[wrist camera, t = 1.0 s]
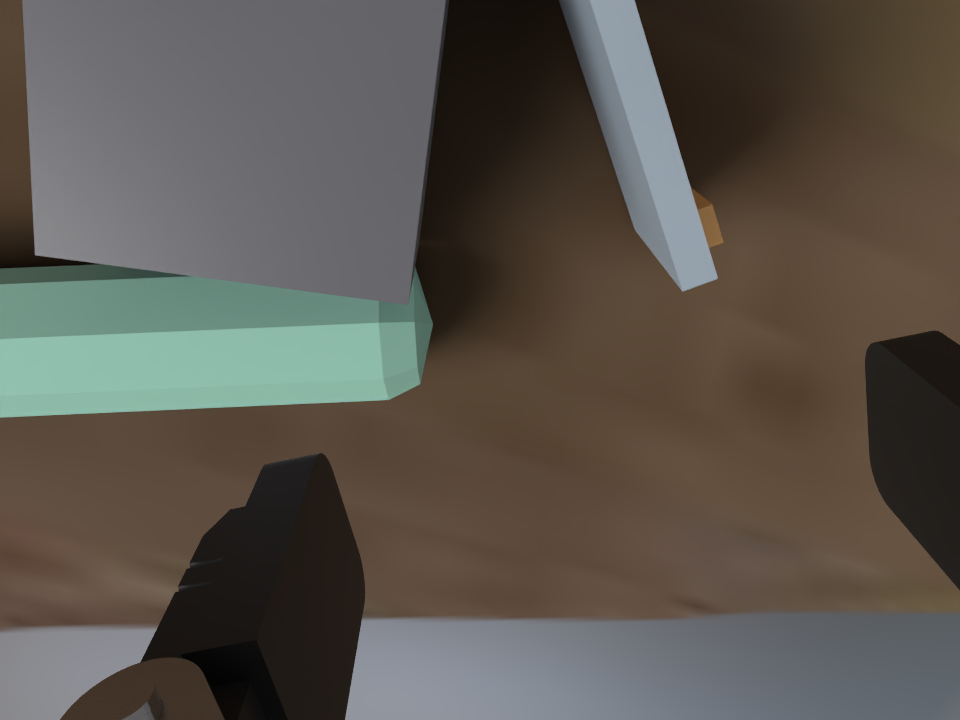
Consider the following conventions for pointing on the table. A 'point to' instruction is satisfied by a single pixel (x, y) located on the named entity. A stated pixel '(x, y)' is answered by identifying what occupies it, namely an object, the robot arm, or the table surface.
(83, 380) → the mint green bar
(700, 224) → the side door
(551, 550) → the table surface
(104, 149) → the camera case
